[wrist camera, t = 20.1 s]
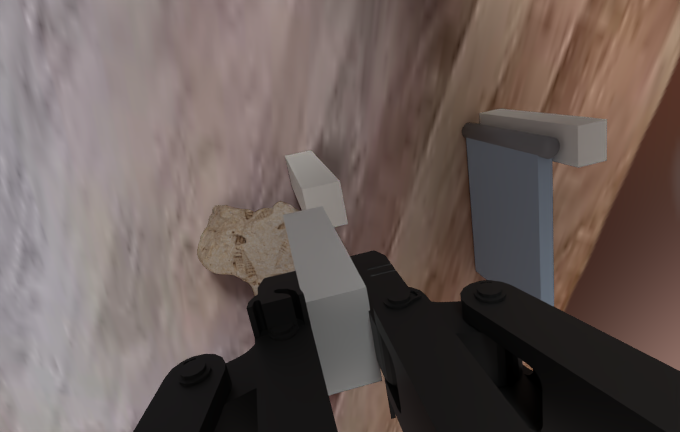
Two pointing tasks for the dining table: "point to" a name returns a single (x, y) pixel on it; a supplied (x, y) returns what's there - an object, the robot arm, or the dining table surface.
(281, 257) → the stone
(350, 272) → the robot arm
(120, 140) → the dining table surface
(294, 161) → the pair of grey bars
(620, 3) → the dining table surface
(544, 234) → the door
